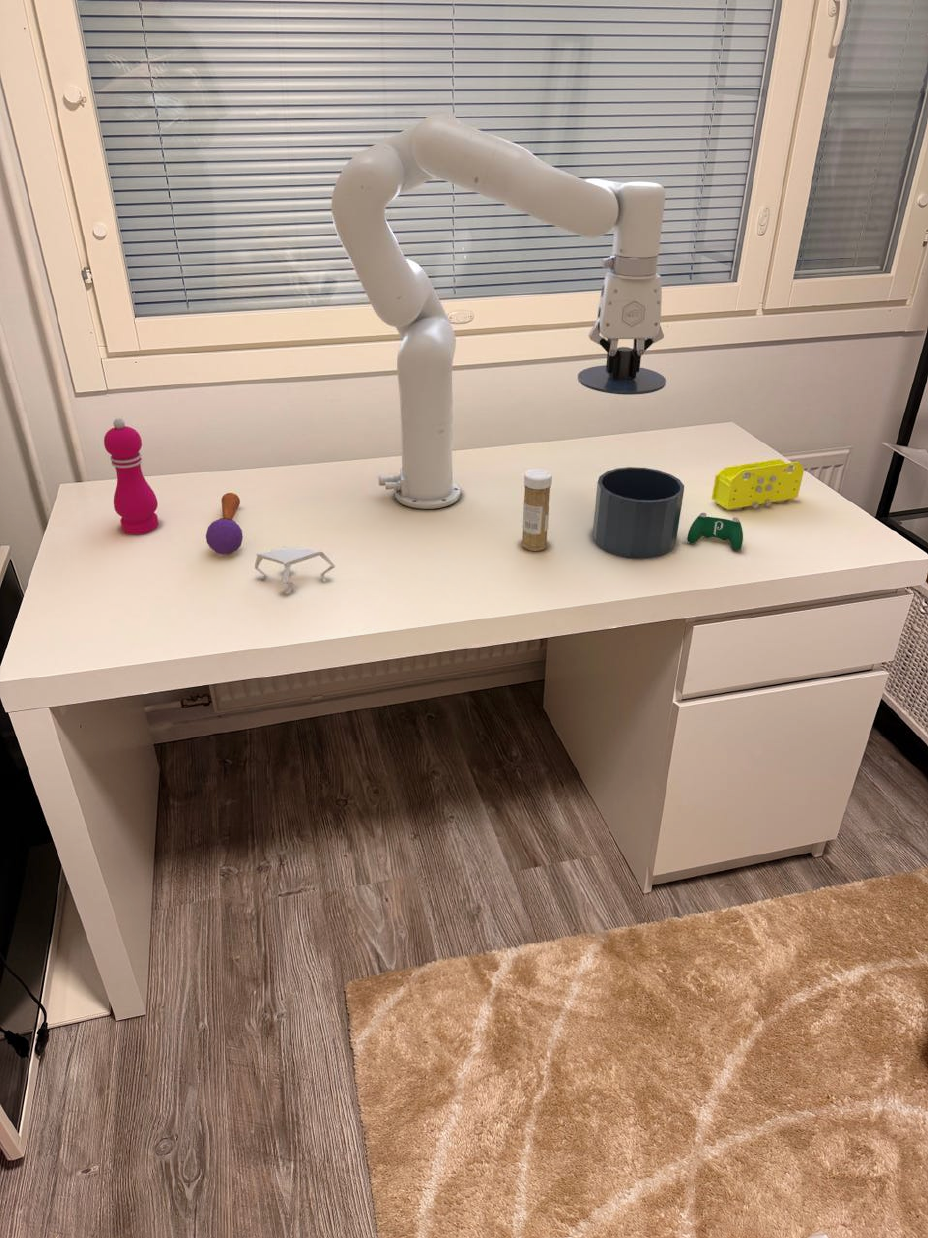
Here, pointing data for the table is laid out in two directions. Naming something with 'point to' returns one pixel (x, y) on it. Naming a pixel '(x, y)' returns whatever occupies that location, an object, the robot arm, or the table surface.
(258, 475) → the table surface
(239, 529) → the purple maraca
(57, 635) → the table surface
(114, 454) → the pepper mill
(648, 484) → the pot
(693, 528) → the gaming controller
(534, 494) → the sprinkles bottle
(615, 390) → the lid
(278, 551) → the grey toy table
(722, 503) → the yellow toy chassis
